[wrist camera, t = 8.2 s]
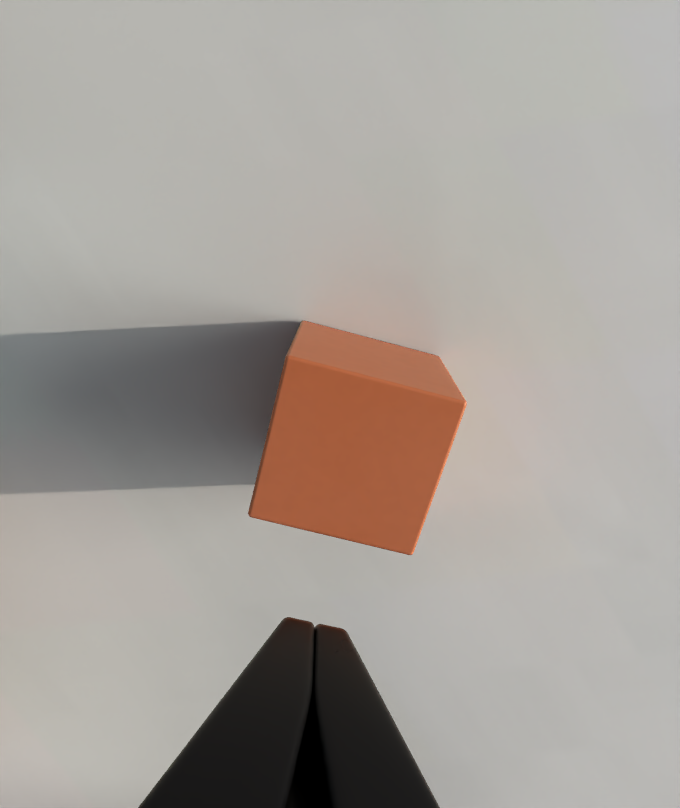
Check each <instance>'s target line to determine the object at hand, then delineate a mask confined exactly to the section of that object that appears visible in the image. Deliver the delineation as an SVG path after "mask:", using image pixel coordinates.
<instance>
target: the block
mask: <svg viewBox="0 0 680 808" xmlns="http://www.w3.org/2000/svg"><path fill="white" fill-rule="evenodd" d="M466 405H467V404H466V400H465V399H464V397H463V395H462V394H461V392H460V390H459V389H458V387H457V385H456V384H455V382H454V380H453V379H452V377H451V375H450V374H449V372H448V370H447V369H446V367H445V365H444V364H443V362H442V360H441V359H440V357H439V356H436V355H432V354H428V353H425V352H421V351H417V350H413V349H410V348H406V347H402V346H398V345H394V344H391V343H387V342H383V341H379V340H376V339H372V338H368V337H364V336H360V335H357V334H353V333H349V332H345V331H342V330H338V329H334V328H330V327H326V326H323V325H319V324H315V323H311V322H308V321H302V322H301V323H300V325H299V328H298V330H297V332H296V334H295V337H294V339H293V341H292V344H291V346H290V348H289V350H288V353H287V355H286V357H285V361H284V365H283V369H282V374H281V378H280V382H279V386H278V390H277V395H276V399H275V403H274V407H273V411H272V415H271V420H270V424H269V428H268V432H267V436H266V441H265V445H264V449H263V453H262V457H261V462H260V466H259V470H258V474H257V478H256V482H255V487H254V491H253V495H252V499H251V503H250V508H249V512H248V514H249V516H250V517H252V518H257V519H261V520H265V521H269V522H273V523H278V524H282V525H286V526H290V527H294V528H298V529H303V530H307V531H311V532H315V533H319V534H324V535H328V536H332V537H336V538H340V539H345V540H349V541H353V542H357V543H361V544H365V545H370V546H374V547H378V548H382V549H386V550H391V551H395V552H399V553H403V554H407V555H412V554H413V552H414V550H415V547H416V544H417V541H418V538H419V536H420V533H421V530H422V527H423V524H424V522H425V519H426V516H427V513H428V511H429V508H430V505H431V502H432V499H433V497H434V494H435V491H436V488H437V486H438V483H439V480H440V477H441V474H442V472H443V469H444V466H445V463H446V460H447V458H448V455H449V452H450V449H451V447H452V444H453V441H454V438H455V435H456V433H457V430H458V427H459V424H460V422H461V419H462V416H463V413H464V410H465V408H466Z"/></svg>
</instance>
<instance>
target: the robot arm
mask: <svg viewBox="0 0 680 808" xmlns="http://www.w3.org/2000/svg"><path fill="white" fill-rule="evenodd" d="M138 808H440V807H439V805H438V804H437V802H436V800H435V798H434V796H433V794H432V792H431V790H430V788H429V786H428V785H427V783H426V781H425V779H424V777H423V775H422V773H421V771H420V769H419V768H418V766H417V764H416V762H415V760H414V758H413V756H412V754H411V752H410V751H409V749H408V747H407V745H406V743H405V741H404V739H403V737H402V735H401V733H400V732H399V730H398V728H397V726H396V724H395V722H394V720H393V718H392V716H391V715H390V713H389V711H388V709H387V707H386V705H385V703H384V701H383V699H382V698H381V696H380V694H379V692H378V690H377V688H376V686H375V684H374V682H373V680H372V679H371V677H370V675H369V673H368V671H367V669H366V667H365V665H364V663H363V662H362V660H361V658H360V656H359V654H358V652H357V650H356V648H355V646H354V644H353V643H352V641H351V639H350V637H349V635H348V633H347V632H346V631H345V630H344V629H341V628H337V627H332V626H328V625H323V624H318V625H317V626H316V627H315V628H314V625H313V623H312V622H309V621H304V620H300V619H295V618H291V617H287V618H284V619H283V620H282V621H281V623H280V624H279V625H278V626H277V628H276V629H275V630H274V632H273V633H272V634H271V636H270V637H269V638H268V639H267V641H266V642H265V643H264V645H263V646H262V647H261V649H260V650H259V651H258V653H257V654H256V655H255V656H254V658H253V659H252V660H251V662H250V663H249V664H248V666H247V667H246V668H245V669H244V671H243V672H242V673H241V675H240V676H239V677H238V679H237V680H236V681H235V682H234V684H233V685H232V686H231V688H230V689H229V690H228V692H227V693H226V694H225V695H224V697H223V698H222V699H221V701H220V702H219V703H218V705H217V706H216V707H215V708H214V710H213V711H212V712H211V714H210V715H209V716H208V718H207V719H206V720H205V721H204V723H203V724H202V725H201V727H200V728H199V729H198V731H197V732H196V733H195V735H194V736H193V737H192V738H191V740H190V741H189V742H188V744H187V745H186V746H185V748H184V749H183V750H182V751H181V753H180V754H179V755H178V757H177V758H176V759H175V761H174V762H173V763H172V764H171V766H170V767H169V768H168V770H167V771H166V772H165V774H164V775H163V776H162V777H161V779H160V780H159V781H158V783H157V784H156V785H155V787H154V788H153V789H152V790H151V792H150V793H149V794H148V796H147V797H146V798H145V800H144V801H143V802H142V803H141V805H140V806H139V807H138Z"/></svg>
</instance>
